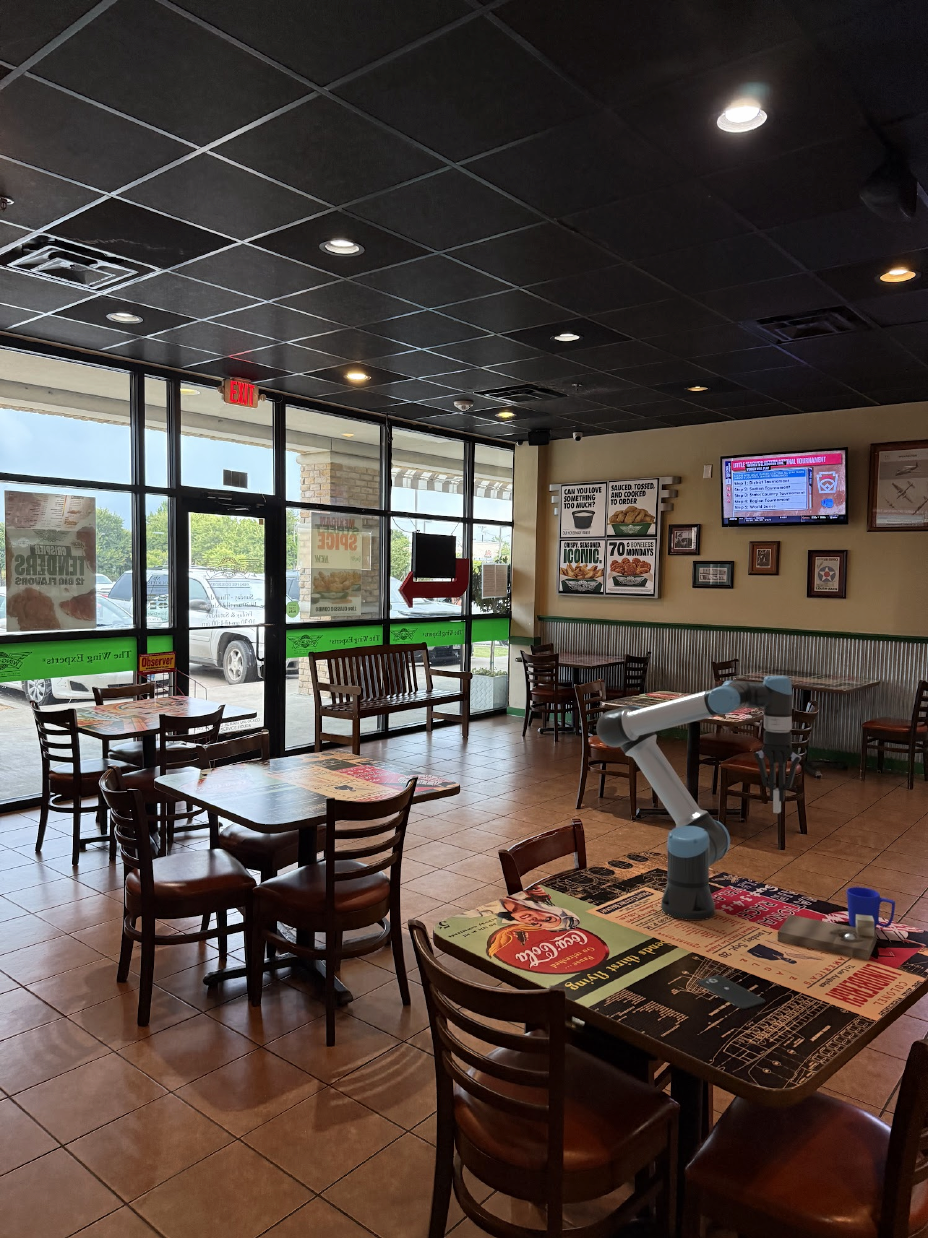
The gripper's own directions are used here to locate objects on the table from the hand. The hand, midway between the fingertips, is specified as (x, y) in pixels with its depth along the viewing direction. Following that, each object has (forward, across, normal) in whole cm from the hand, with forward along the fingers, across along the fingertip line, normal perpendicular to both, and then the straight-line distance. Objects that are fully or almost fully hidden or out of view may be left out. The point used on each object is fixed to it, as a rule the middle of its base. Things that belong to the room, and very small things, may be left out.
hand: (777, 812), depth 244 cm
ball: (+28, +22, -13) cm, 37 cm away
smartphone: (+30, +3, -55) cm, 63 cm away
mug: (+30, +24, +2) cm, 38 cm away
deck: (+29, +16, -13) cm, 36 cm away
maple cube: (+27, +24, -8) cm, 37 cm away
